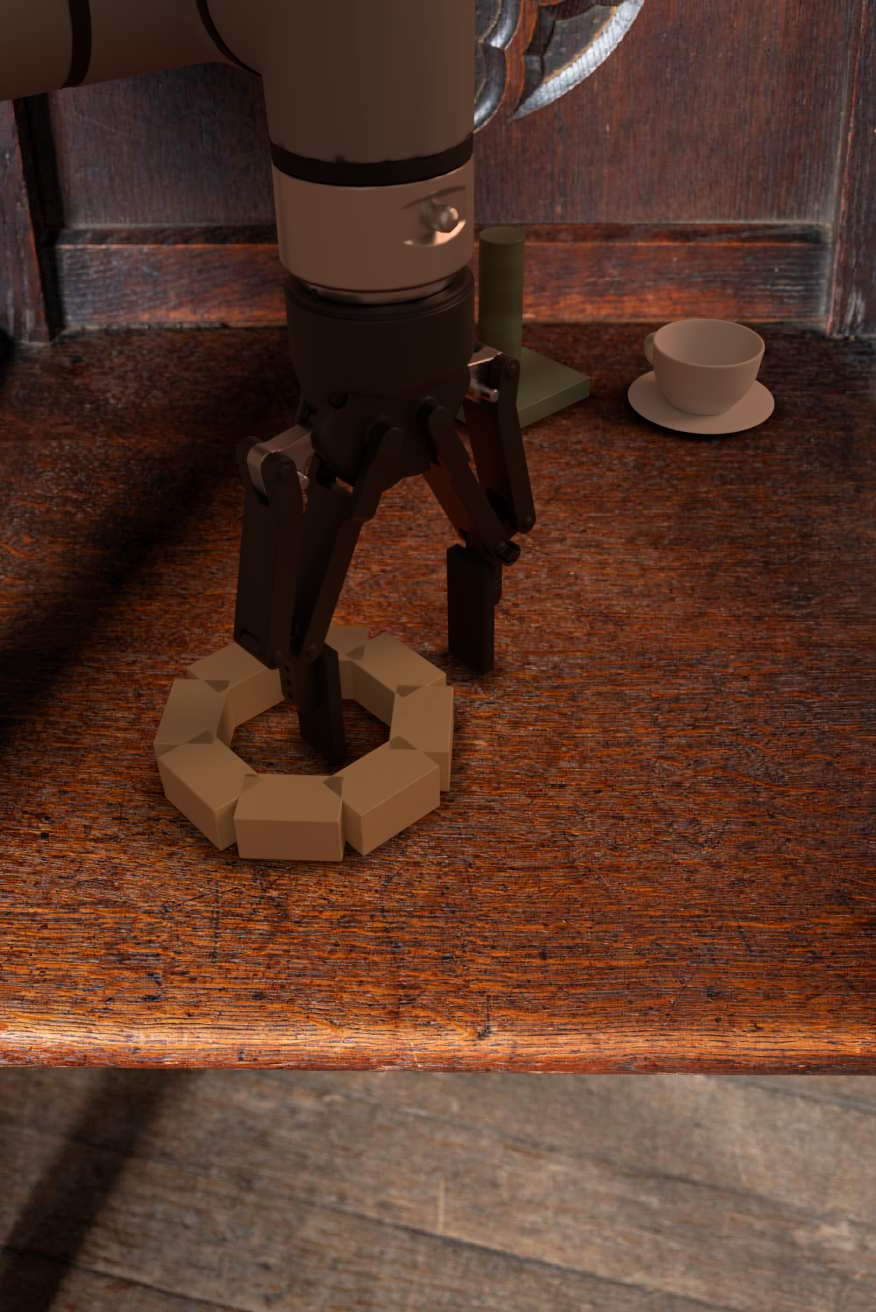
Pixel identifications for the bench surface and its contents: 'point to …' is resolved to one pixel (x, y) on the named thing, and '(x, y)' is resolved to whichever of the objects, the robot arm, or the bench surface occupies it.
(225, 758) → the ring of blocks
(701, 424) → the teacup
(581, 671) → the bench surface
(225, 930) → the bench surface
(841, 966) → the bench surface
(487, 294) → the stand
